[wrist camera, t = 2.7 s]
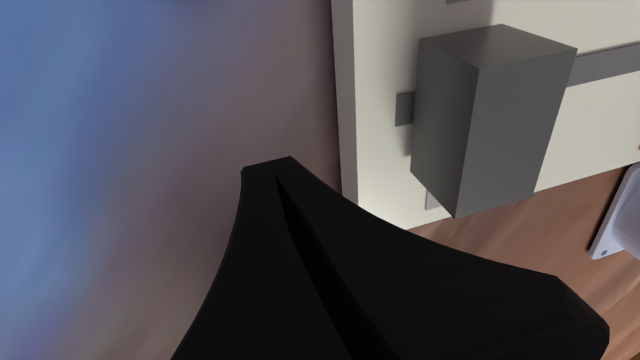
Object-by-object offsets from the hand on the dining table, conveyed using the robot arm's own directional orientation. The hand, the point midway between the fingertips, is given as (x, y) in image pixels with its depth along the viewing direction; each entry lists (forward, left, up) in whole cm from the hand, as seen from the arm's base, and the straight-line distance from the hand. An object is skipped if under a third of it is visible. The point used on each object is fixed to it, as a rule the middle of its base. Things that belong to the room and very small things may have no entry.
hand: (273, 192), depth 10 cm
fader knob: (-7, 0, -3) cm, 8 cm away
